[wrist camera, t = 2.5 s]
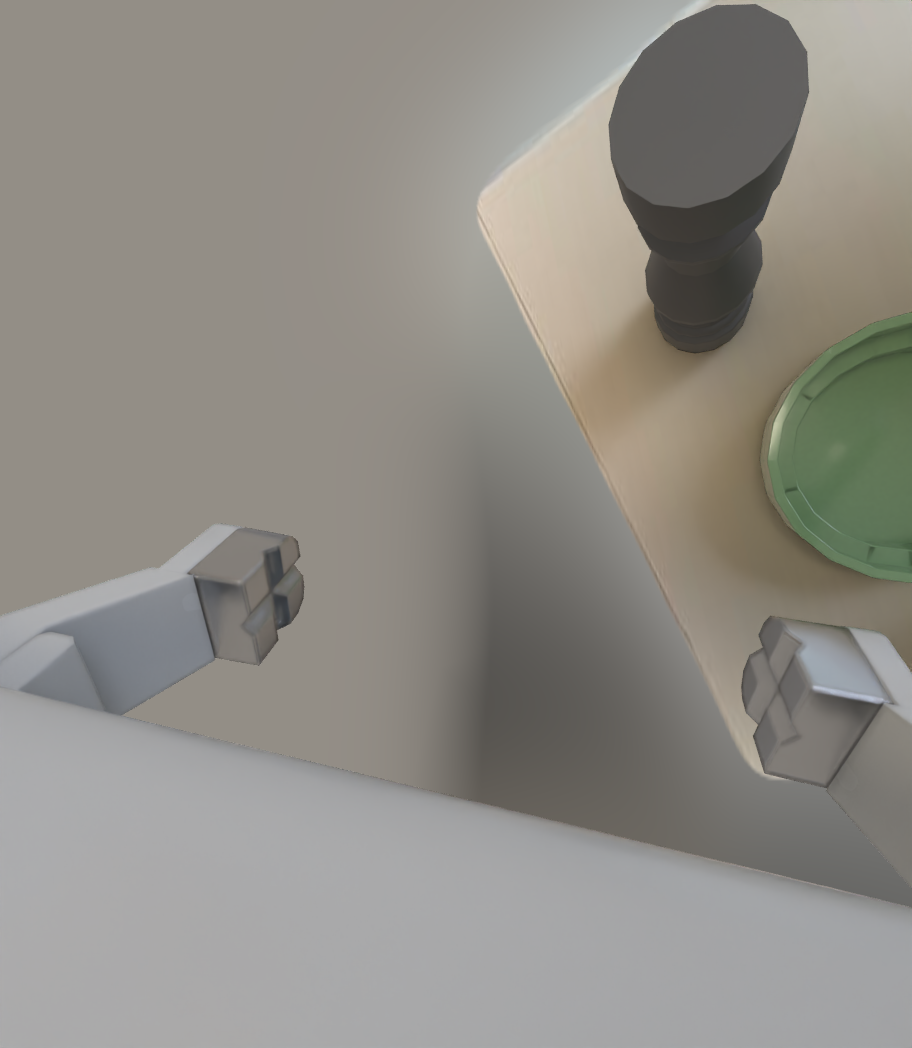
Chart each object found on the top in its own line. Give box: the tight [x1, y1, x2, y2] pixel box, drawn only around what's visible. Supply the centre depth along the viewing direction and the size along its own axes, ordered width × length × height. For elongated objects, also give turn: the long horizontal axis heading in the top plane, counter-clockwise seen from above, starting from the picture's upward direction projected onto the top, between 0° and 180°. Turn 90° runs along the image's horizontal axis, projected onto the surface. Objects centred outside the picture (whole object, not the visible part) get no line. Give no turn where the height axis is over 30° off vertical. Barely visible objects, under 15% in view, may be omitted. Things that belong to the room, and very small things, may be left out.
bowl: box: [760, 312, 912, 583], centre depth 33 cm, size 16×16×6 cm
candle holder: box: [609, 4, 809, 353], centre depth 28 cm, size 6×6×25 cm
